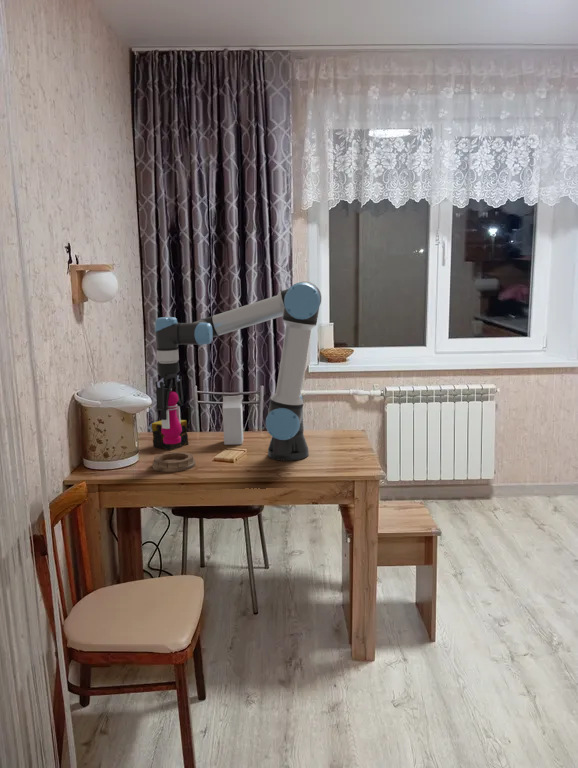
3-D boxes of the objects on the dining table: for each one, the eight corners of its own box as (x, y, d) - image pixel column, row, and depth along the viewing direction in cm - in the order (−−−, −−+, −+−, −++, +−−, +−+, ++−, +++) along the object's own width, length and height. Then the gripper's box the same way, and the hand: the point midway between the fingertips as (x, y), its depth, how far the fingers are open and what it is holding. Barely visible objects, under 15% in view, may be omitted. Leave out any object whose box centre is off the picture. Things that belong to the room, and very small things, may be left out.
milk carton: (242, 444, 270) (240, 397, 267) (224, 445, 270) (222, 398, 267) (243, 440, 277) (241, 394, 274) (226, 440, 277) (224, 394, 274)
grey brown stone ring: (202, 461, 248) (202, 453, 248) (180, 473, 235) (180, 465, 234) (167, 458, 254) (167, 449, 253) (144, 469, 240) (143, 461, 240)
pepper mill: (178, 445, 239) (175, 389, 235) (158, 444, 240) (155, 388, 236) (185, 439, 246) (182, 385, 242) (166, 439, 247) (163, 384, 243)
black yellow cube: (189, 444, 273) (187, 420, 271) (171, 450, 264) (170, 425, 263) (169, 441, 278) (168, 417, 276) (152, 447, 270) (151, 422, 268)
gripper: (173, 357, 248) (177, 419, 252) (142, 365, 230) (146, 431, 234) (191, 358, 245) (194, 420, 249) (161, 366, 227) (165, 433, 232)
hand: (171, 425), depth 242 cm, fingers closed on pepper mill, 6 cm apart
